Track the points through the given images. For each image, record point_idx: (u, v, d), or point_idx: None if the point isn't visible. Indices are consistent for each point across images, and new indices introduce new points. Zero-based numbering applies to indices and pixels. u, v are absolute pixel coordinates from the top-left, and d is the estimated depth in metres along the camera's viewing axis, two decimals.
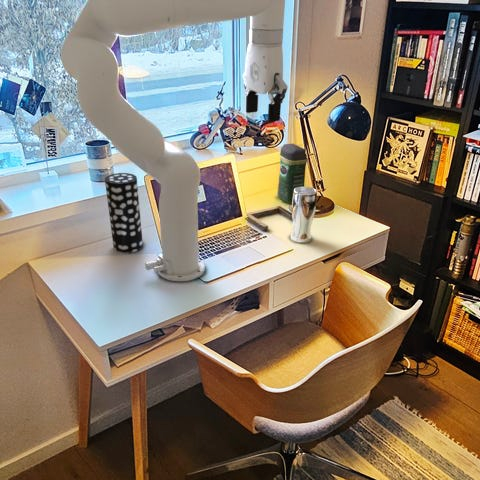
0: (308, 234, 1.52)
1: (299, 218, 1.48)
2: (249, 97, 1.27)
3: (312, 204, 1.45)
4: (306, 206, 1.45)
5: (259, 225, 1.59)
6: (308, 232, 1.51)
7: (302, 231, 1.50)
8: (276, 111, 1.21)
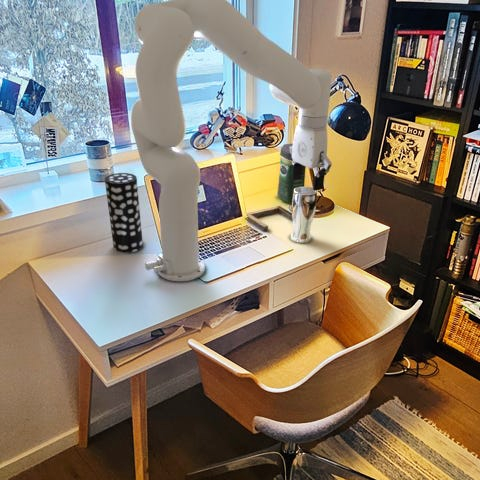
0: (308, 234, 1.52)
1: (299, 218, 1.48)
2: (295, 167, 1.46)
3: (312, 204, 1.45)
4: (306, 206, 1.45)
5: (259, 225, 1.59)
6: (308, 232, 1.51)
7: (302, 231, 1.50)
8: (320, 182, 1.40)
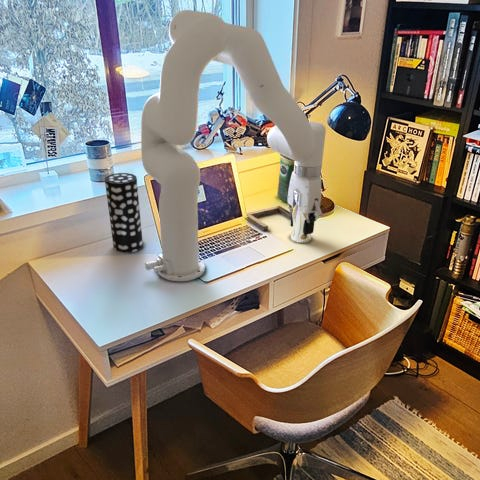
0: (308, 234, 1.52)
1: (299, 218, 1.48)
2: None
3: None
4: None
5: (259, 225, 1.59)
6: None
7: (302, 231, 1.50)
8: (311, 227, 1.48)
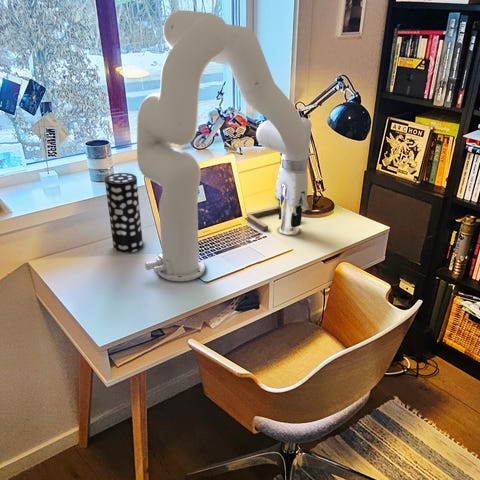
0: None
1: (287, 211, 1.52)
2: None
3: None
4: None
5: (259, 225, 1.59)
6: None
7: (290, 223, 1.54)
8: (298, 220, 1.53)
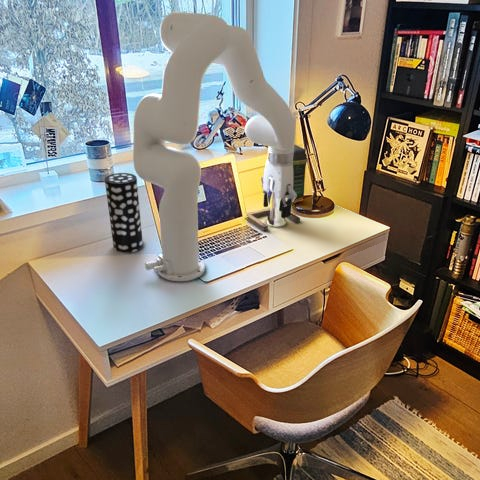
0: (283, 218, 1.60)
1: (274, 203, 1.57)
2: (266, 196, 1.62)
3: None
4: None
5: (259, 225, 1.59)
6: None
7: (277, 215, 1.59)
8: (288, 210, 1.56)
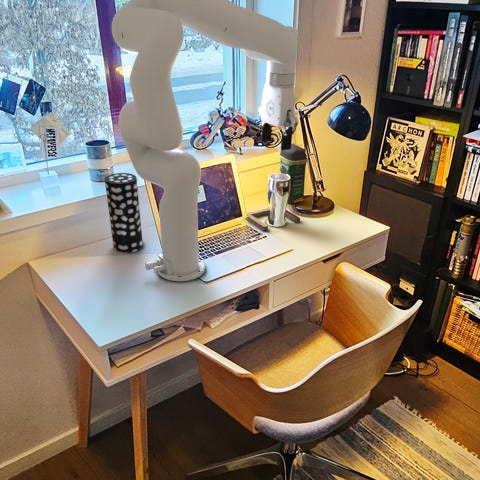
0: (283, 218, 1.60)
1: (274, 203, 1.57)
2: (264, 128, 1.47)
3: (285, 190, 1.54)
4: (280, 191, 1.54)
5: (259, 225, 1.59)
6: (283, 217, 1.60)
7: (277, 215, 1.59)
8: (288, 141, 1.41)
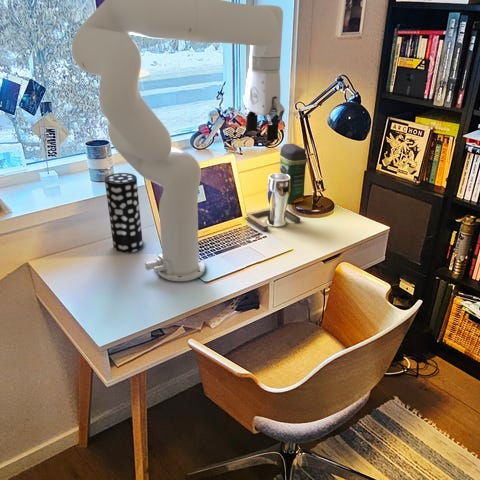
0: (283, 218, 1.60)
1: (274, 203, 1.57)
2: (249, 117, 1.36)
3: (285, 190, 1.54)
4: (280, 191, 1.54)
5: (259, 225, 1.59)
6: (283, 217, 1.60)
7: (277, 215, 1.59)
8: (274, 131, 1.31)
